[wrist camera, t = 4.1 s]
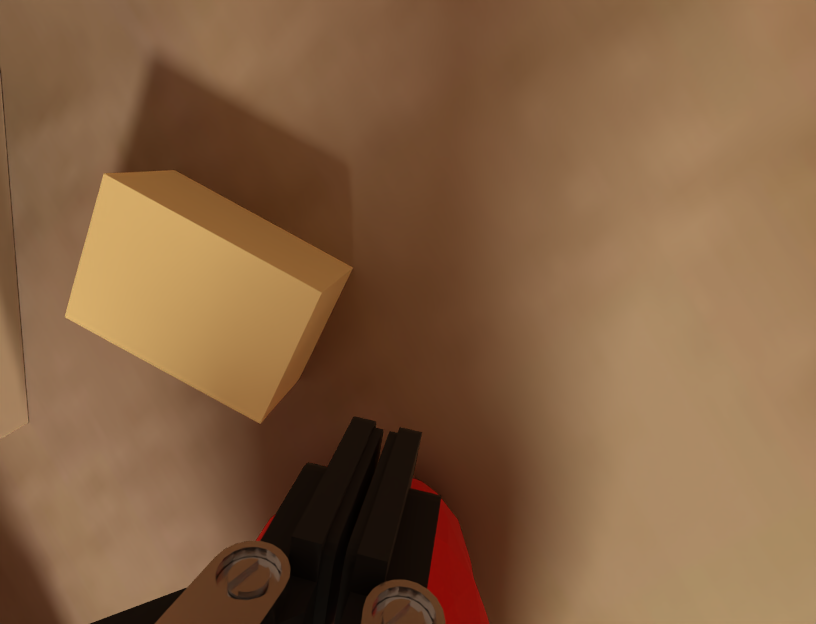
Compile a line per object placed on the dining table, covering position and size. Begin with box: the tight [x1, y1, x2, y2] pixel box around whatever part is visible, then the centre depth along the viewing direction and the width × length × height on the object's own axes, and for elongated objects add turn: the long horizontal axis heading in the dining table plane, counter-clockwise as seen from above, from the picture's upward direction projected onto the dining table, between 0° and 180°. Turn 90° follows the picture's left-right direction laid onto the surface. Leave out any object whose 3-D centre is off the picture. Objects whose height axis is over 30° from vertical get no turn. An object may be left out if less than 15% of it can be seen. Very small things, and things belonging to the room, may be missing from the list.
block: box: [65, 170, 353, 424], centre depth 24 cm, size 10×7×5 cm
